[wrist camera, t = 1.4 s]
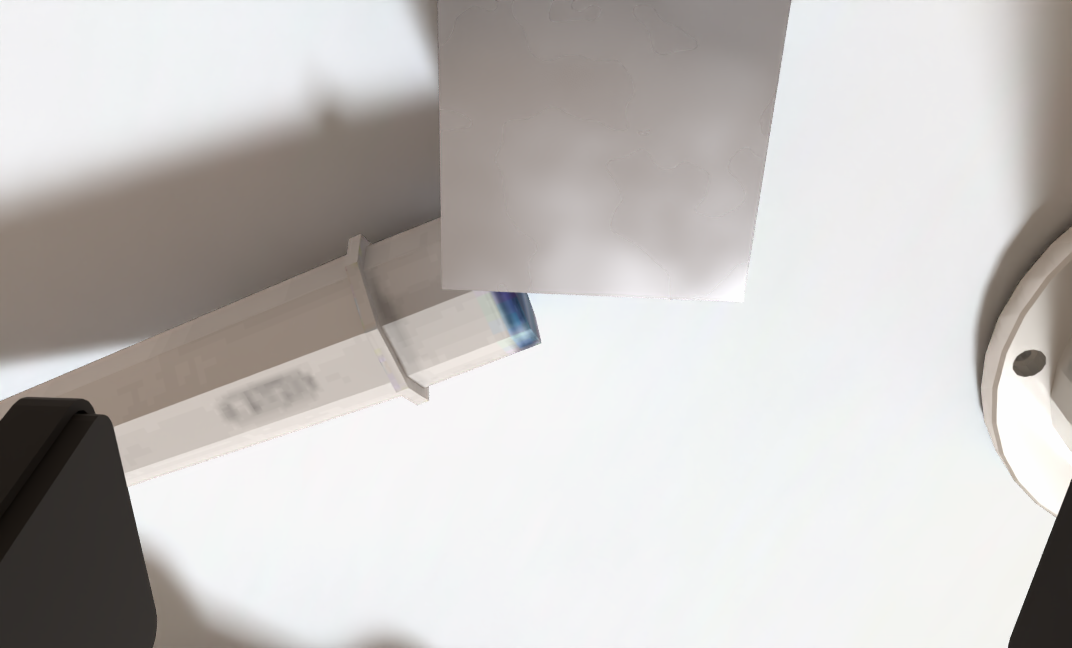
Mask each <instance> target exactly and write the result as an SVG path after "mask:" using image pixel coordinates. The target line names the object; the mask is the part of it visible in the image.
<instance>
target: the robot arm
mask: <svg viewBox="0 0 1072 648" xmlns="http://www.w3.org/2000/svg"><path fill="white" fill-rule="evenodd" d="M981 396H982V405H983V414H984V422H985V425H986V427H987V430H988V432H989V435H990V437H991V440H992V443H993V445H994V448H995V450H996V452H997V454H998V455H999V457H1000V458H1001V460H1002V461H1003V463H1004V465H1005V466H1006V468H1007V469H1008V471H1009V473H1010V474H1011V476H1012V478H1013V480H1014V481H1015V482H1016V483H1017V484H1018V485H1019V486H1020V487H1021V488H1022V489H1023V491H1024V492H1025V493H1026V494H1027V495H1028V496H1029V497H1030V498H1031V499H1032V500H1033V501H1034V502H1035V503H1036V504H1037V505H1039V506H1040V507H1042V508H1043V509H1044V510H1046V511H1047V512H1049V513H1050V514H1052V515H1053V516H1055V517H1056V520H1055V523H1054V526H1053V528H1052V531H1051V533H1050V536H1049V539H1048V541H1047V544H1046V546H1045V549H1044V552H1043V554H1042V557H1041V559H1040V562H1039V565H1038V567H1037V570H1036V572H1035V575H1034V578H1033V580H1032V583H1031V585H1030V588H1029V590H1028V593H1027V596H1026V598H1025V601H1024V603H1023V606H1022V609H1021V611H1020V614H1019V616H1018V619H1017V622H1016V624H1015V627H1014V629H1013V632H1012V635H1011V637H1010V641H1009V645H1008V648H1072V226H1071V227H1070V228H1069V229H1068V230H1067V231H1066V232H1065V233H1063V234H1062V235H1061V236H1060V237H1059V238H1058V239H1057V240H1055V241H1054V242H1053V243H1052V244H1051V245H1050V246H1049V247H1048V248H1047V250H1046V251H1045V252H1044V253H1043V254H1042V255H1041V257H1040V258H1039V259H1038V260H1037V261H1036V263H1035V264H1034V265H1033V266H1032V267H1031V268H1030V270H1029V271H1028V272H1027V273H1026V274H1025V276H1024V277H1023V278H1022V279H1021V280H1020V282H1019V284H1018V285H1017V287H1016V289H1015V290H1014V292H1013V294H1012V296H1011V297H1010V299H1009V301H1008V302H1007V304H1006V306H1005V307H1004V309H1003V311H1002V312H1001V314H1000V316H999V318H998V320H997V323H996V326H995V329H994V332H993V334H992V337H991V340H990V343H989V345H988V348H987V351H986V354H985V361H984V368H983V376H982V384H981ZM156 628H157V615H156V609H155V605H154V600H153V596H152V592H151V587H150V583H149V579H148V574H147V570H146V566H145V561H144V557H143V553H142V548H141V544H140V540H139V535H138V531H137V527H136V522H135V518H134V514H133V509H132V505H131V501H130V496H129V492H128V488H127V483H126V479H125V475H124V470H123V466H122V462H121V457H120V453H119V449H118V444H117V440H116V436H115V431H114V427H113V424H112V422H111V420H110V418H109V417H108V416H106V415H104V414H96V413H95V411H94V408H93V406H92V405H91V404H90V402H89V401H87V400H85V399H81V398H50V397H24V398H20V399H19V400H18V401H17V402H16V403H14V404H13V405H12V407H11V408H10V409H9V410H8V412H7V413H6V414H5V415H4V417H3V418H2V419H1V420H0V648H153V645H154V641H155V636H156Z"/></svg>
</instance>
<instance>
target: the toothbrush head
mask: <svg viewBox="0 0 1072 648" xmlns="http://www.w3.org/2000/svg"><path fill="white" fill-rule="evenodd" d="M540 343H541V339H540V335H539V330H538V326H537V321H536V317H535V314H534V311H533V309H532V306H531V303H530V300H529V297H528V295H527V293H519V292H495V291H472V290H448V289H442V270H441V217H439V218H437V219H434V220H432V221H429V222H427V223H424V224H422V225H419V226H417V227H414V228H412V229H409V230H407V231H404V232H402V233H399V234H397V235H394V236H392V237H389V238H387V239H384V240H382V241H379V242H377V243H374V244H371V243H370V242H369V241H368V240H367V239H366V238H365V237H364V236H363V235H362V234H359V235H356V236H354V237H351V238H349V242H348V248H347V255H344V256H342V257H340V258H337V259H335V260H333V261H330V262H328V263H326V264H323V265H321V266H318V267H316V268H314V269H311V270H309V271H307V272H304V273H302V274H300V275H297V276H295V277H292V278H290V279H288V280H285V281H283V282H281V283H278V284H276V285H274V286H271V287H269V288H266V289H264V290H262V291H259V292H257V293H255V294H252V295H250V296H248V297H245V298H243V299H240V300H238V301H236V302H233V303H231V304H229V305H226V306H224V307H222V308H219V309H217V310H214V311H212V312H210V313H207V314H205V315H203V316H200V317H198V318H196V319H193V320H191V321H188V322H186V323H184V324H181V325H179V326H177V327H174V328H172V329H169V330H167V331H165V332H162V333H160V334H158V335H155V336H153V337H151V338H148V339H146V340H143V341H141V342H139V343H136V344H134V345H132V346H129V347H127V348H125V349H122V350H120V351H117V352H115V353H113V354H110V355H108V356H106V357H103V358H101V359H99V360H96V361H94V362H91V363H89V364H87V365H84V366H82V367H80V368H77V369H75V370H73V371H70V372H68V373H65V374H63V375H61V376H58V377H56V378H54V379H51V380H49V381H47V382H44V383H42V384H39V385H37V386H35V387H32V388H30V389H28V390H25V391H23V392H21V393H18V394H16V395H13V396H11V397H9V398H6V399H4V400H2V401H0V420H1V419H2V418H3V417H4V415H5V414H6V413H7V412H8V410H9V409H10V408H11V407H12V405H13V404H14V403H16V402H17V401H18V400H19V399H20V398H24V397H50V398H81V399H85V400H87V401H89V402H90V404H91V405H92V406H93V408H94V411H95V413H96V414H104V415H106V416H108V417H109V418H110V420H111V422H112V424H113V427H114V431H115V436H116V440H117V444H118V449H119V453H120V457H121V462H122V466H123V470H124V475H125V479H126V483H127V487H129V486H132V485H135V484H138V483H141V482H144V481H147V480H150V479H153V478H156V477H159V476H162V475H165V474H169V473H172V472H175V471H178V470H181V469H184V468H187V467H190V466H193V465H196V464H199V463H202V462H205V461H208V460H211V459H214V458H217V457H220V456H223V455H226V454H229V453H232V452H235V451H238V450H241V449H244V448H247V447H250V446H253V445H256V444H259V443H262V442H265V441H268V440H271V439H274V438H277V437H280V436H283V435H286V434H289V433H292V432H295V431H298V430H301V429H304V428H307V427H310V426H313V425H316V424H319V423H322V422H325V421H328V420H331V419H334V418H337V417H340V416H343V415H346V414H349V413H352V412H355V411H358V410H361V409H364V408H367V407H371V406H374V405H377V404H380V403H383V402H386V401H389V400H392V399H395V398H398V397H401V396H403V397H404V398H406V399H408V400H409V401H411V402H413V403H414V404H416V405H419V404H422V403H424V402H427V401H429V386H431V385H434V384H436V383H439V382H441V381H444V380H447V379H449V378H452V377H454V376H457V375H460V374H462V373H465V372H467V371H470V370H473V369H475V368H478V367H480V366H483V365H486V364H488V363H491V362H493V361H496V360H499V359H501V358H504V357H507V356H509V355H512V354H514V353H517V352H520V351H522V350H525V349H527V348H530V347H533V346H535V345H538V344H540Z"/></svg>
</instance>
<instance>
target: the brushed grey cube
mask: <svg viewBox="0 0 1072 648" xmlns="http://www.w3.org/2000/svg"><path fill="white" fill-rule="evenodd" d="M790 5H791V0H438V65H439V133H440V202H441V270H442V289H448V290H472V291H495V292H519V293H542V294H566V295H589V296H613V297H636V298H660V299H683V300H707V301H730V302H743V299H744V292H745V286H746V280H747V274H748V267H749V261H750V255H751V249H752V242H753V236H754V230H755V224H756V217H757V211H758V205H759V199H760V192H761V186H762V180H763V173H764V167H765V161H766V155H767V148H768V142H769V136H770V130H771V123H772V117H773V111H774V105H775V98H776V92H777V86H778V80H779V73H780V67H781V61H782V55H783V48H784V42H785V36H786V30H787V23H788V17H789V11H790Z"/></svg>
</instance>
